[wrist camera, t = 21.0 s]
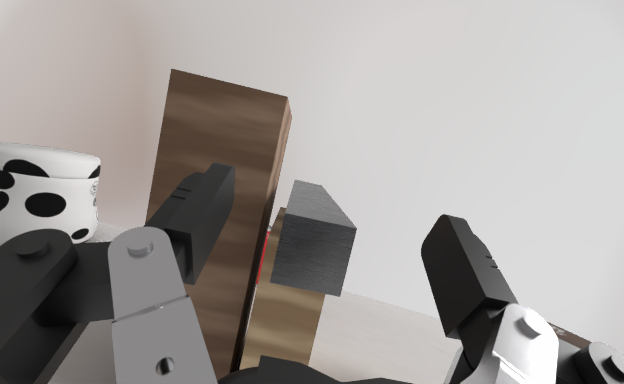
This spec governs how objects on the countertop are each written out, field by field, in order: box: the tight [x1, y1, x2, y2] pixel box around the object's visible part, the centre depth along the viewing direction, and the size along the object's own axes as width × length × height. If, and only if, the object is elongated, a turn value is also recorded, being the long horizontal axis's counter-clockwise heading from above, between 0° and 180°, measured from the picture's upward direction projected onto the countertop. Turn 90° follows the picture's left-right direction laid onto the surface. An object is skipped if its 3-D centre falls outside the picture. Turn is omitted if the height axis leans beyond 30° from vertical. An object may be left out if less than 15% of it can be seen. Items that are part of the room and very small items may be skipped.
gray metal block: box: [270, 180, 357, 297], centre depth 28 cm, size 26×4×4 cm, turn 2°
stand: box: [145, 69, 325, 380], centre depth 32 cm, size 15×17×32 cm
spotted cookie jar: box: [0, 143, 100, 246], centre depth 54 cm, size 17×17×18 cm
